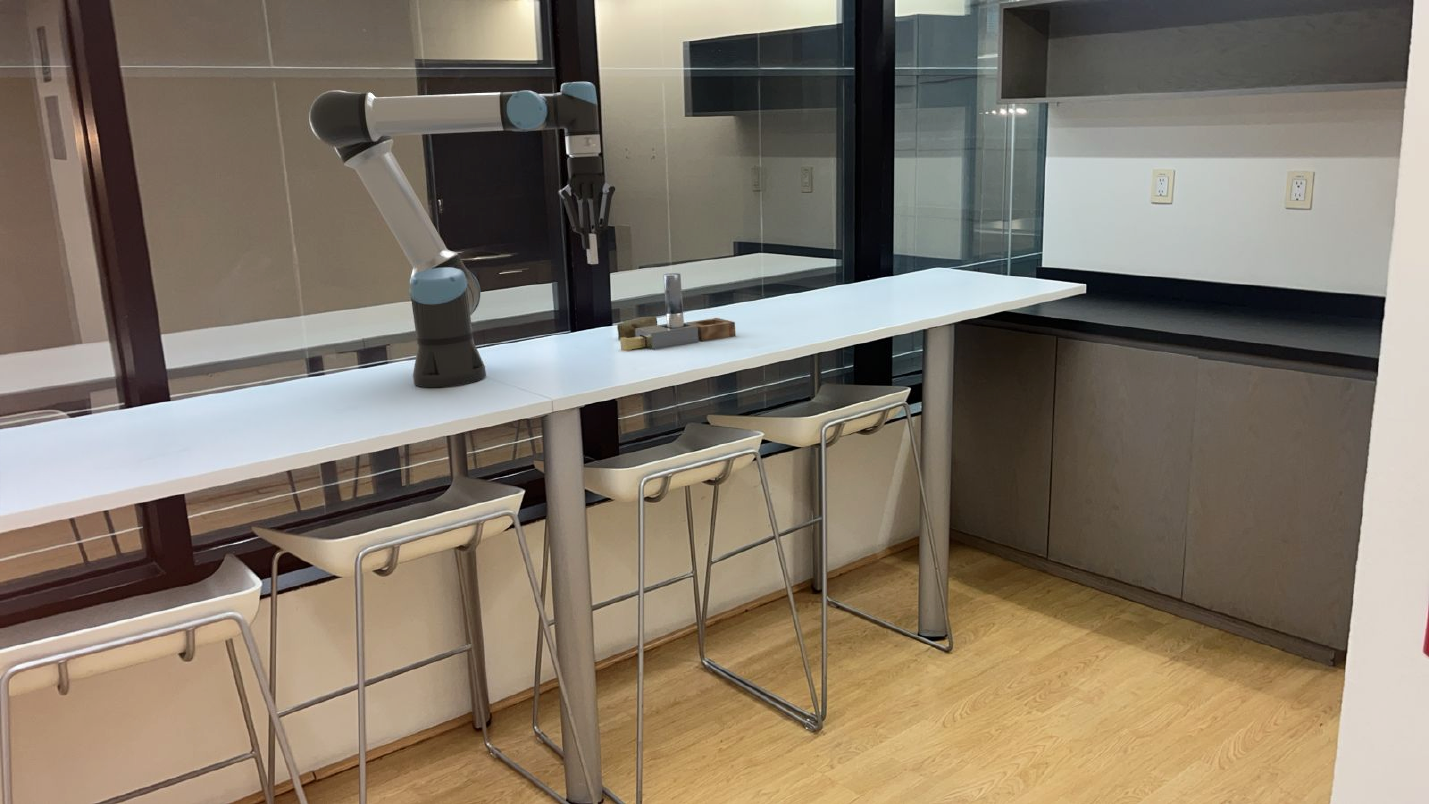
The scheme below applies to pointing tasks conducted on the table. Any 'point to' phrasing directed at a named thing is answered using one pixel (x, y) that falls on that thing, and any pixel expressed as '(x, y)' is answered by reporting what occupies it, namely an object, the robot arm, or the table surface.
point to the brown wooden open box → (714, 329)
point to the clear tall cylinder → (673, 300)
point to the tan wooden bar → (633, 343)
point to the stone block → (634, 326)
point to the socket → (668, 335)
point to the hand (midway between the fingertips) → (592, 263)
